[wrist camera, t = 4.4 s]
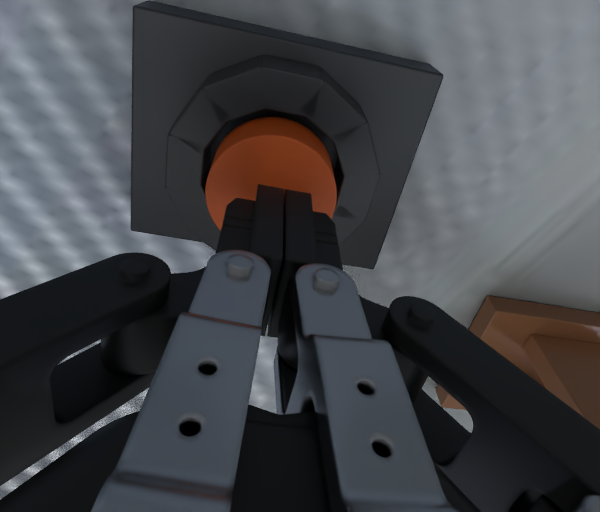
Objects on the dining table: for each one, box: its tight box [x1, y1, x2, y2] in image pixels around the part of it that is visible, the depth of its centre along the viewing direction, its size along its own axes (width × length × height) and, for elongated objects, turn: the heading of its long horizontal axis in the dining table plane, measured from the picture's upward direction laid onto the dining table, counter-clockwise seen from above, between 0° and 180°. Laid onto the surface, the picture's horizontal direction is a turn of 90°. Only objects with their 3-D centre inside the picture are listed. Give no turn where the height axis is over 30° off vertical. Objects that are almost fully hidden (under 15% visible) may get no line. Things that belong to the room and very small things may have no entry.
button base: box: [131, 1, 443, 269], centre depth 17 cm, size 10×8×4 cm
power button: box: [205, 117, 337, 231], centre depth 15 cm, size 4×4×2 cm
